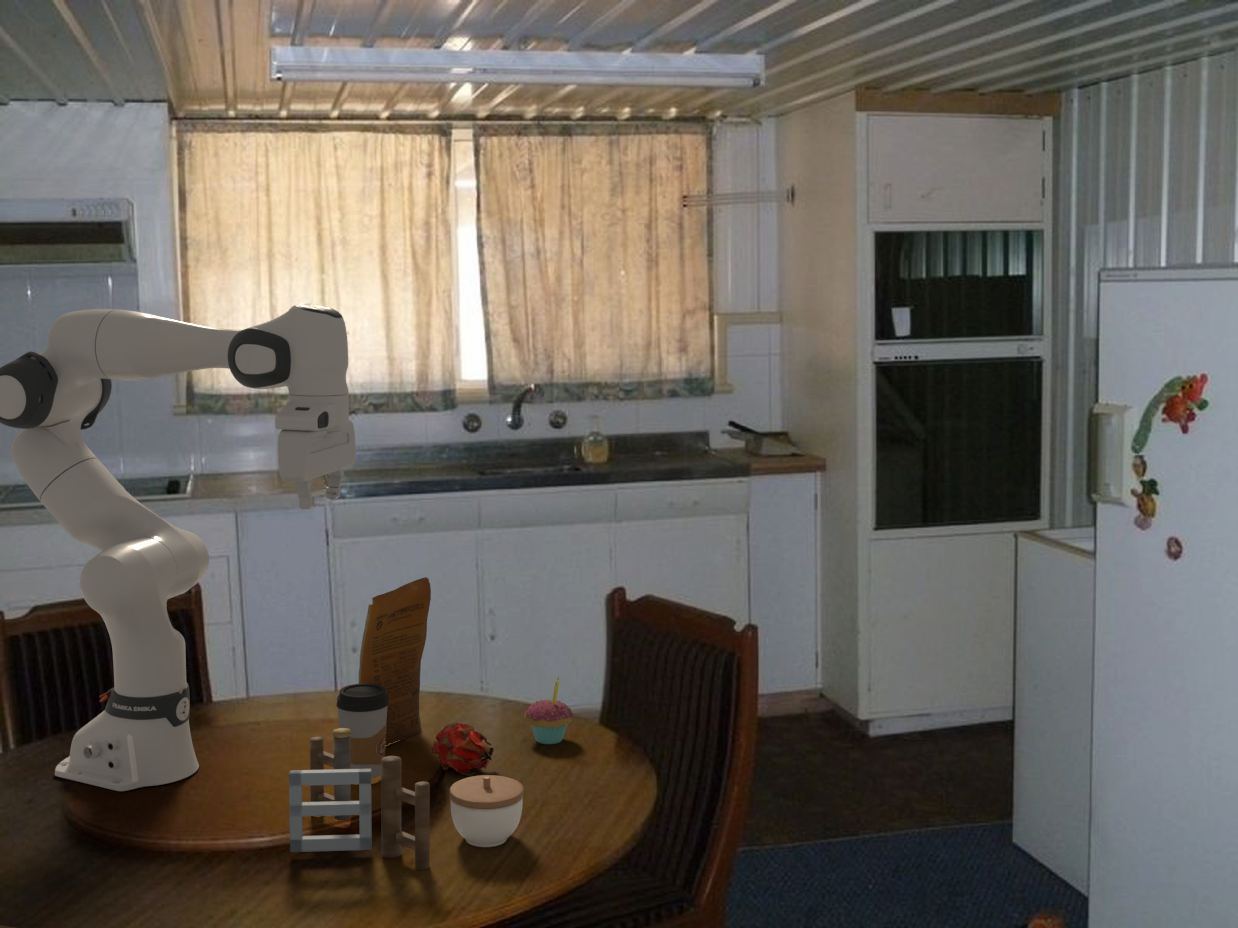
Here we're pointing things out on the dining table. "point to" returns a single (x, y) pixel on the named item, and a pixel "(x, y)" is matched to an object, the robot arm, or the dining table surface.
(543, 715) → the cupcake
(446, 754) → the dragon fruit
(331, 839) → the gate
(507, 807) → the lidded jar
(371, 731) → the coffee cup
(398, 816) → the fence
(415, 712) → the pancake mix bag
